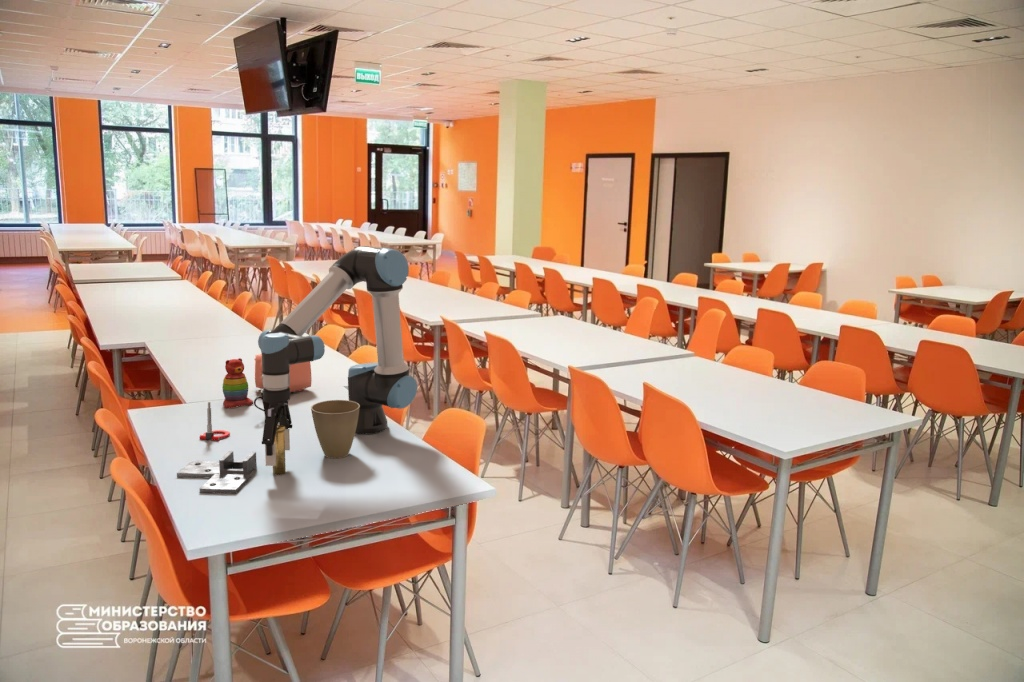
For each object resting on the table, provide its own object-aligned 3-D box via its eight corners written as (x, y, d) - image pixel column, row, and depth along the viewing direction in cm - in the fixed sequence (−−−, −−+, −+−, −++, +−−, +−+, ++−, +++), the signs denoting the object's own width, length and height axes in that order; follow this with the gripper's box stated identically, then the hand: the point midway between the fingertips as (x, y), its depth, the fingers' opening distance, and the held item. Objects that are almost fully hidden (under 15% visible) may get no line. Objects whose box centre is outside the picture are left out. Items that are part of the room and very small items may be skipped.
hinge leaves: (261, 466, 228) (260, 450, 227) (236, 493, 207) (235, 476, 206) (191, 464, 228) (190, 448, 227) (159, 491, 207) (158, 474, 206)
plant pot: (304, 452, 241) (303, 404, 238) (347, 444, 250) (347, 397, 247) (324, 466, 230) (322, 415, 227) (368, 457, 239) (368, 408, 235)
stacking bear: (226, 409, 285) (224, 363, 282) (217, 403, 293) (215, 358, 290) (255, 404, 292) (253, 360, 289) (245, 399, 300) (243, 355, 296)
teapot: (235, 390, 312) (233, 348, 309) (278, 379, 331) (277, 339, 328) (277, 400, 299) (275, 356, 296) (319, 388, 318) (318, 347, 315)
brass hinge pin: (288, 470, 225) (287, 425, 222) (284, 475, 221) (282, 429, 218) (274, 470, 225) (272, 425, 222) (269, 475, 221) (268, 429, 218)
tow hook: (211, 432, 260) (196, 439, 250) (211, 395, 258) (195, 401, 249) (234, 434, 258) (220, 441, 249) (234, 397, 256) (219, 403, 247)
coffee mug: (284, 412, 283) (283, 386, 281) (288, 418, 276) (287, 392, 274) (251, 415, 278) (250, 389, 276) (254, 422, 271) (253, 395, 269)
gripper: (276, 376, 230) (278, 443, 234) (248, 398, 206) (250, 472, 210) (301, 377, 230) (302, 444, 234) (276, 398, 206) (278, 472, 210)
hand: (278, 457), depth 222 cm, fingers open, 13 cm apart
